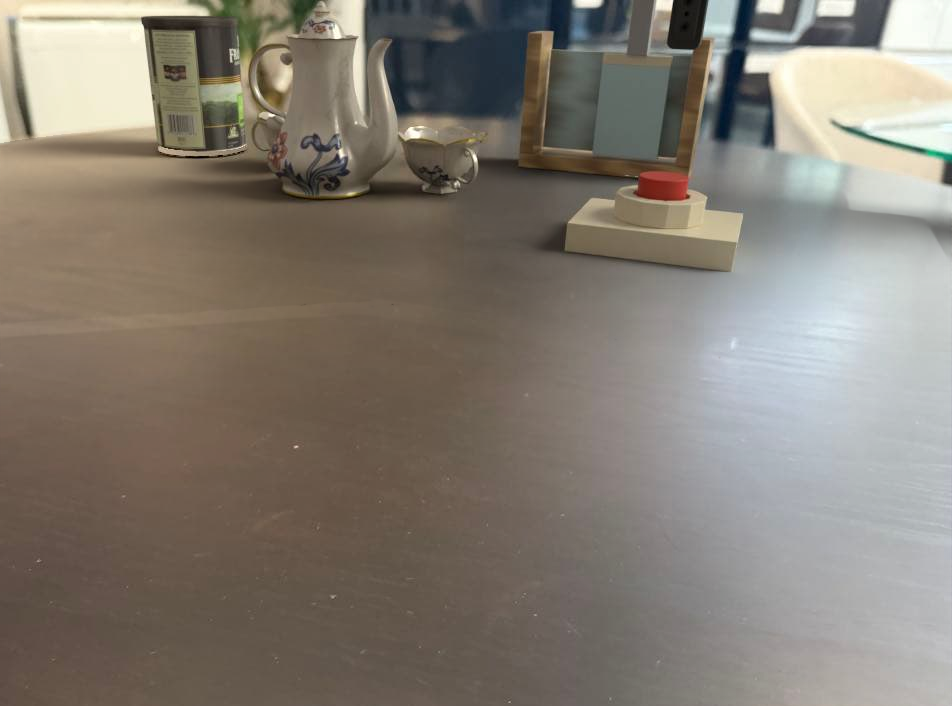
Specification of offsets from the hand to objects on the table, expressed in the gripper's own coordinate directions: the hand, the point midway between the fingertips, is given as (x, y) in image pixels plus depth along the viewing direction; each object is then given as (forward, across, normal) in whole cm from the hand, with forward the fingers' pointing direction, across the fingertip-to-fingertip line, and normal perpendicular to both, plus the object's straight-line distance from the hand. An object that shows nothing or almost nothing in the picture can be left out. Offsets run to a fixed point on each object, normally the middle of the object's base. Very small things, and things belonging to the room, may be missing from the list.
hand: (683, 48), depth 58 cm
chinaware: (+14, +9, +31) cm, 35 cm away
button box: (+14, 0, 0) cm, 14 cm away
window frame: (+14, +28, +9) cm, 33 cm away
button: (+10, 0, 0) cm, 10 cm away
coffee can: (+14, +18, +54) cm, 59 cm away
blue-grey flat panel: (+12, +27, +7) cm, 30 cm away
